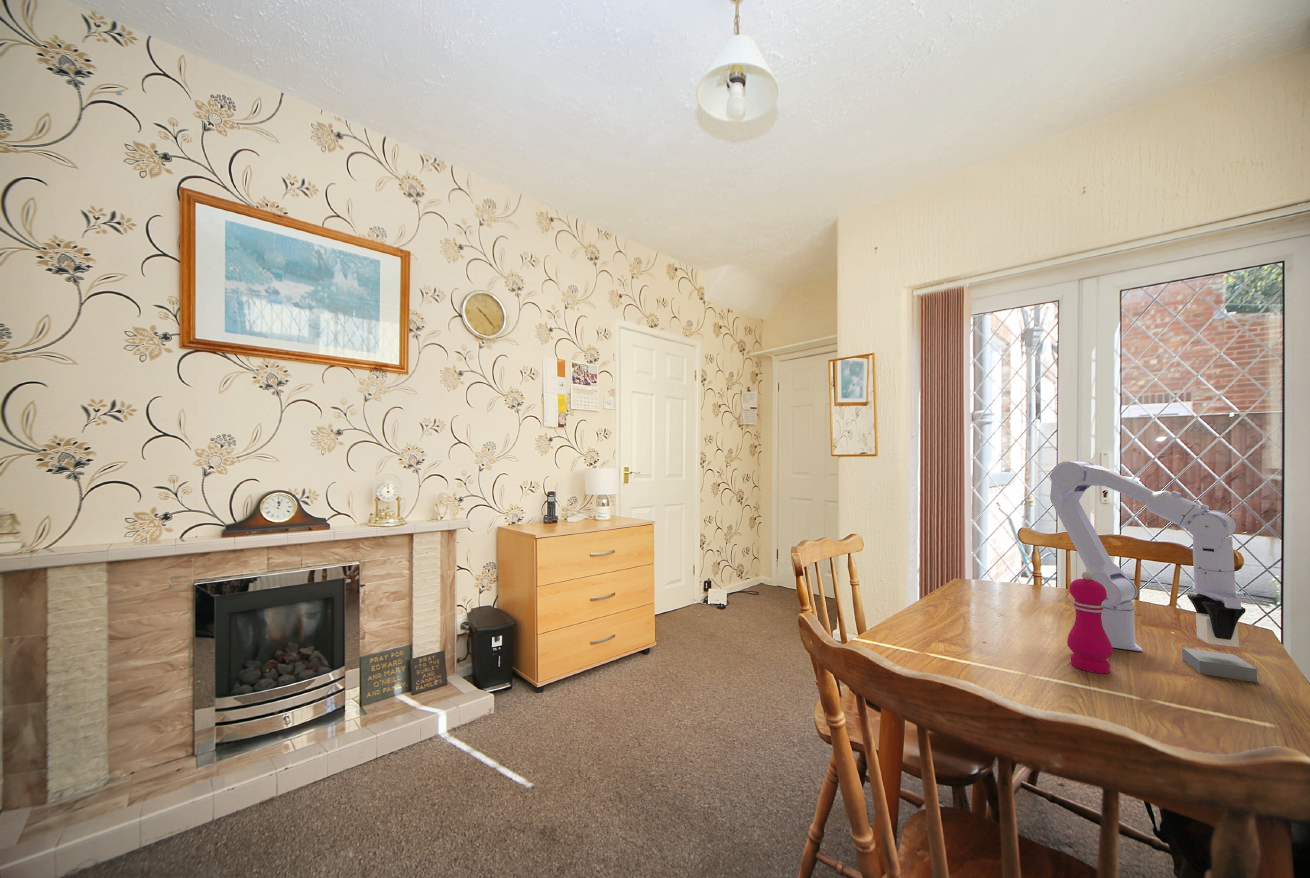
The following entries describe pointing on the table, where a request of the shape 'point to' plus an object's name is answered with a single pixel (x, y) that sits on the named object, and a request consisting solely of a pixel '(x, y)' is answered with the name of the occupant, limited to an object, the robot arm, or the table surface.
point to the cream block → (1207, 633)
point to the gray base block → (1219, 664)
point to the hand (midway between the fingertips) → (1216, 634)
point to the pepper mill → (1089, 626)
